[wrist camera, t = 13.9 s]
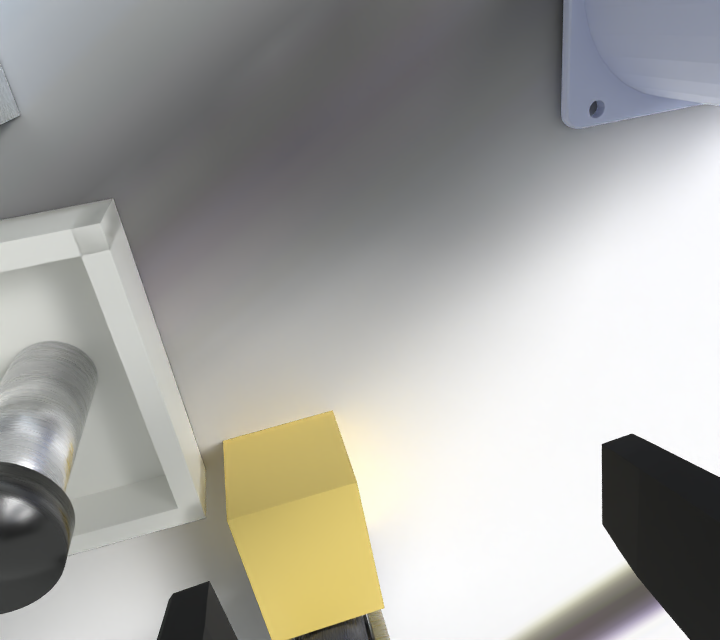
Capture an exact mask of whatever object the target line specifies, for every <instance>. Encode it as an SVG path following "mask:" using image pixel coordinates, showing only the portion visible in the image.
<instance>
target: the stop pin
mask: <svg viewBox="0 0 720 640" xmlns="http://www.w3.org/2000/svg"><path fill="white" fill-rule="evenodd" d="M97 383H98V373H97V369H96V366H95V364H94V362H93V361H92V360H91V358H90V357H89V356H88V355H87V354H86V353H85V352H83V351H82V350H80V349H79V348H77V347H75V346H73V345H70V344H68V343H64V342H59V341H43V342H38V343H34V344H32V345H29V346H27V347H26V348H24V349H22V350H21V351H20V352H19V353H18V354H17V355H16V356H15V358H14V359H13V361H12V362H11V364H10V366H9V368H8V369H7V371H6V373H5V375H4V376H3V378H2V380H1V382H0V614H3V613H7V612H11V611H14V610H17V609H20V608H22V607H25V606H27V605H29V604H31V603H33V602H35V601H36V600H38V599H40V598H41V597H42V596H44V595H45V594H46V593H47V592H48V591H50V590H51V589H52V588H53V587H54V585H55V584H56V583H57V581H58V580H59V578H60V577H61V575H62V573H63V570H64V567H65V563H66V560H67V556H68V552H69V548H70V544H71V540H72V536H73V532H74V527H75V513H74V508H73V506H72V503H71V501H70V499H69V498H68V496H67V495H66V493H65V491H66V487H67V484H68V481H69V477H70V474H71V471H72V467H73V464H74V461H75V457H76V454H77V451H78V447H79V444H80V440H81V437H82V434H83V430H84V427H85V424H86V420H87V417H88V414H89V410H90V407H91V404H92V400H93V397H94V394H95V390H96V387H97Z"/></svg>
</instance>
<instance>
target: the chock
mask: <svg viewBox="0 0 720 640" xmlns="http://www.w3.org/2000/svg"><path fill="white" fill-rule="evenodd" d="M223 452H224V472H225V492H226V512H227V522H228V525H229V528H230V530H231V533H232V536H233V538H234V541H235V544H236V546H237V549H238V552H239V554H240V557H241V560H242V562H243V565H244V568H245V570H246V573H247V576H248V578H249V581H250V584H251V586H252V589H253V592H254V594H255V597H256V600H257V602H258V605H259V608H260V610H261V613H262V616H263V618H264V621H265V624H266V626H267V629H268V632H269V634H270V637H271V640H288V639H291V638H294V637H297V636H300V635H303V634H306V633H310V632H313V631H316V630H319V629H322V628H325V627H328V626H331V625H334V624H337V623H340V622H343V621H346V620H349V619H352V618H355V617H358V616H362V615H365V614H368V613H371V612H374V611H377V610H380V609H383V608H384V604H383V599H382V594H381V590H380V585H379V581H378V576H377V572H376V567H375V563H374V558H373V553H372V549H371V544H370V540H369V535H368V531H367V526H366V522H365V517H364V513H363V508H362V503H361V499H360V494H359V490H358V485H357V481H356V478H355V475H354V472H353V469H352V466H351V463H350V461H349V458H348V455H347V452H346V449H345V446H344V443H343V440H342V437H341V434H340V431H339V428H338V425H337V422H336V419H335V416H334V413H333V410H332V411H329V412H325V413H322V414H318V415H314V416H311V417H307V418H304V419H300V420H297V421H293V422H289V423H286V424H282V425H279V426H275V427H271V428H268V429H264V430H261V431H257V432H253V433H250V434H246V435H243V436H239V437H236V438H232V439H228V440H225V441H223Z"/></svg>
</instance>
